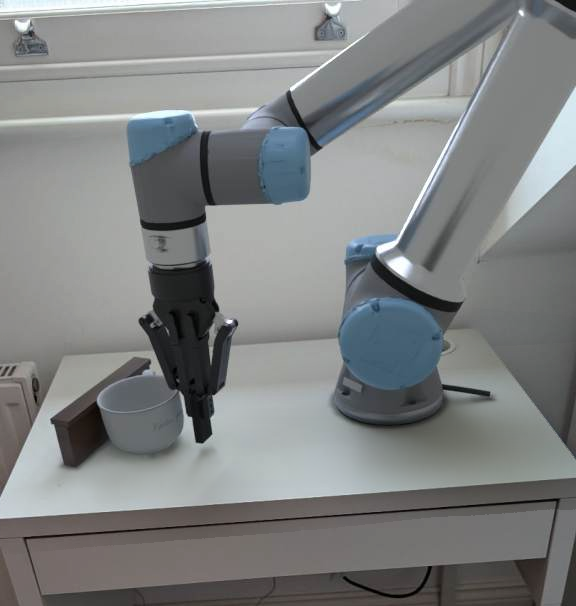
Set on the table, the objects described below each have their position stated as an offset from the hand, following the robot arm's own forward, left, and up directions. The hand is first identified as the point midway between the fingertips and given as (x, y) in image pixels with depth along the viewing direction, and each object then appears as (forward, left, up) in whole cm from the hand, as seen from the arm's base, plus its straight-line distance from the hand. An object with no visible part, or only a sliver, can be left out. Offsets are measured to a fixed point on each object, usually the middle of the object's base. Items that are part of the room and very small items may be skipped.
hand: (204, 438), depth 107 cm
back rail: (+15, 0, -2) cm, 15 cm away
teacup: (+9, 0, -2) cm, 9 cm away
